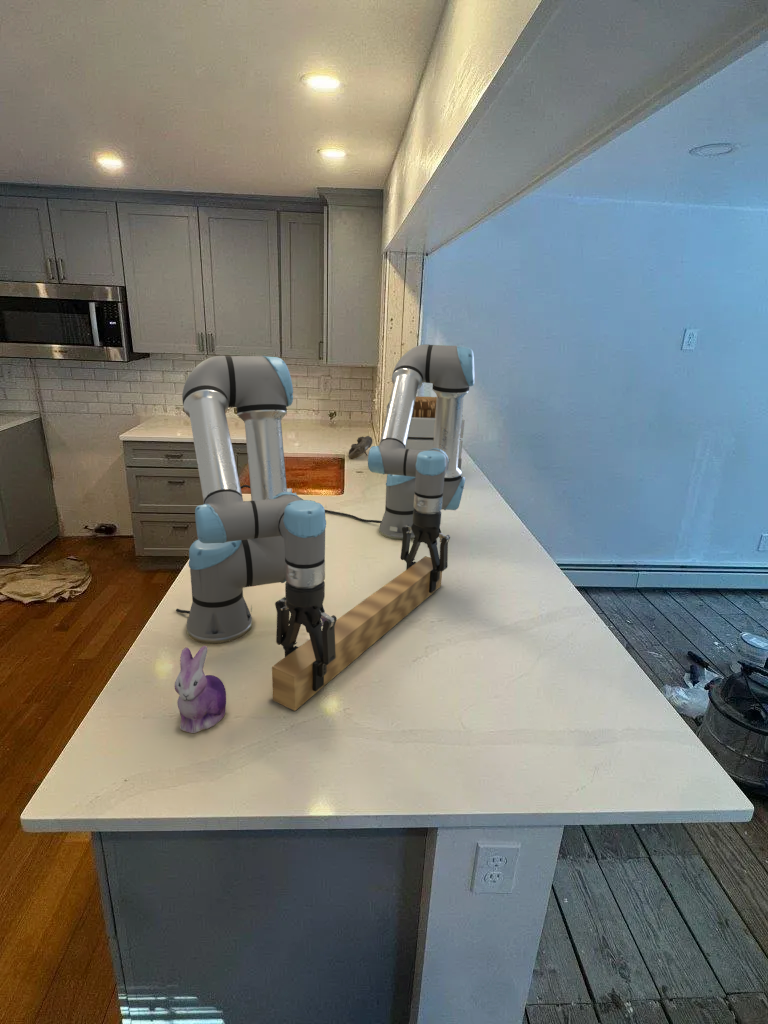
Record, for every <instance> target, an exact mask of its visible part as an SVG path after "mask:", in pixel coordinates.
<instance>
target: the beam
mask: <svg viewBox="0 0 768 1024" xmlns="http://www.w3.org/2000/svg"><path fill="white" fill-rule="evenodd" d="M415 562H416V563H415V564H414V565H412V566H411V567H409V568H408V569H407V570H406V569H404V571H402V572H401V573H400V574H398V575H397V576H396V577H394V578H393V579H391V580H390V581H389V582H387V583H386V584H384V585H383V586H382V587H380V588H379V589H377V590H376V591H375V592H373V593H372V594H370V595H369V596H367V597H366V598H365V599H363V600H362V601H361V602H359V603H358V604H356V605H355V606H353V608H351V609H350V610H348V611H347V612H345V613H344V614H343V615H342V616H339V618H337V620H336V623H335V626H334V627H335V652H336V658H335V659H334V660H333V661H332V662H330V663H329V664H328V665H327V673H326V674H325V675H324V685H323V686H322V687H321V688H319V689H318V690H317V691H316V692H315V691H313V662H315V661H316V659H315V655H314V651H313V647H312V643H311V639H310V638H309V639H307V641H305V642H304V643H303V644H301V645H299V646H297V647H298V648H297V649H296V650H294V651H293V652H291V653H290V654H289V655H287V656H286V657H285V656H284V657H283V658H282V659H280V660H279V661H277V662H276V663H275V664H274V665H272V666H271V685H272V688H271V689H272V701H273V702H275V703H277V704H279V705H281V706H283V707H285V708H288V709H290V710H292V711H297V710H298V709H299V708H301V706H303V705H304V704H305V703H306V702H307V701H309V700H310V699H311V698H312V697H314V695H316V694H317V693H318V692H319V691H321V690H322V688H324V687H325V686H326V685H328V684H329V683H330V682H331V681H333V679H334V678H335V677H337V676H338V675H339V674H340V673H341V672H343V671H344V670H345V669H346V668H347V667H349V665H351V664H352V663H353V662H354V661H355V660H357V659H358V658H359V657H360V656H362V654H364V653H365V652H366V651H367V650H368V649H369V648H371V647H372V646H373V645H374V644H375V643H376V642H378V641H379V640H380V639H381V638H383V636H385V635H386V634H387V633H388V632H390V630H392V629H393V628H394V627H395V626H396V625H397V624H398V623H400V622H401V621H402V620H403V619H405V618H406V617H407V616H408V615H409V614H410V613H412V612H413V611H415V609H416V608H417V607H418V606H420V605H421V604H422V603H423V602H425V601H426V600H427V599H428V598H429V597H430V596H431V595H433V594H434V593H435V592H436V591H437V590H438V589H440V588H441V587H442V580H443V579H442V578H443V571H442V572H441V571H440V579H439V581H437V582H436V590H435V591H433V592H432V593H429V585H430V572H431V570H433V566H432V561H431V556H427V555H425V556H423V557H422V558H420V559H419V560H418V561H415Z"/></svg>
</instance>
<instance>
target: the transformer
mask: <svg viewBox="0 0 768 1024" xmlns="http://www.w3.org/2000/svg"><path fill="white" fill-rule="evenodd" d="M436 398H437V396H417V395H416V400H415V405H414V410H413V415H412V420H411V424H410V429H409V434H408V439H407V444H406V449H412V450H424V451H428V450H430V449H433V443H434V428H435V413H436ZM389 402H390V400H389ZM389 402H388V404H387V405H386V413H385V414H387V410H388V406H389ZM464 429H465V419H464V418H462V422H461V433H460V445H459V457H458V468H459V469H460V470H461V471H462V461H463V460H462V453H463V442H464V441H463V440H462V439H463V438H464V431H465V430H464Z"/></svg>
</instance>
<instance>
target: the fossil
mask: <svg viewBox="0 0 768 1024" xmlns="http://www.w3.org/2000/svg"><path fill="white" fill-rule="evenodd" d="M356 442H357V443H352V444H351V446H350V449H349V450H348V455H347V457H348V459H349V460H354V459H357V458H360V457H361V456H362V455H365V456H368V454H367V450H368V449H369V448H371V447H372V445H373V438H372V437H371V436H370V435H366V436H359V437H357V439H356Z"/></svg>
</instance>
